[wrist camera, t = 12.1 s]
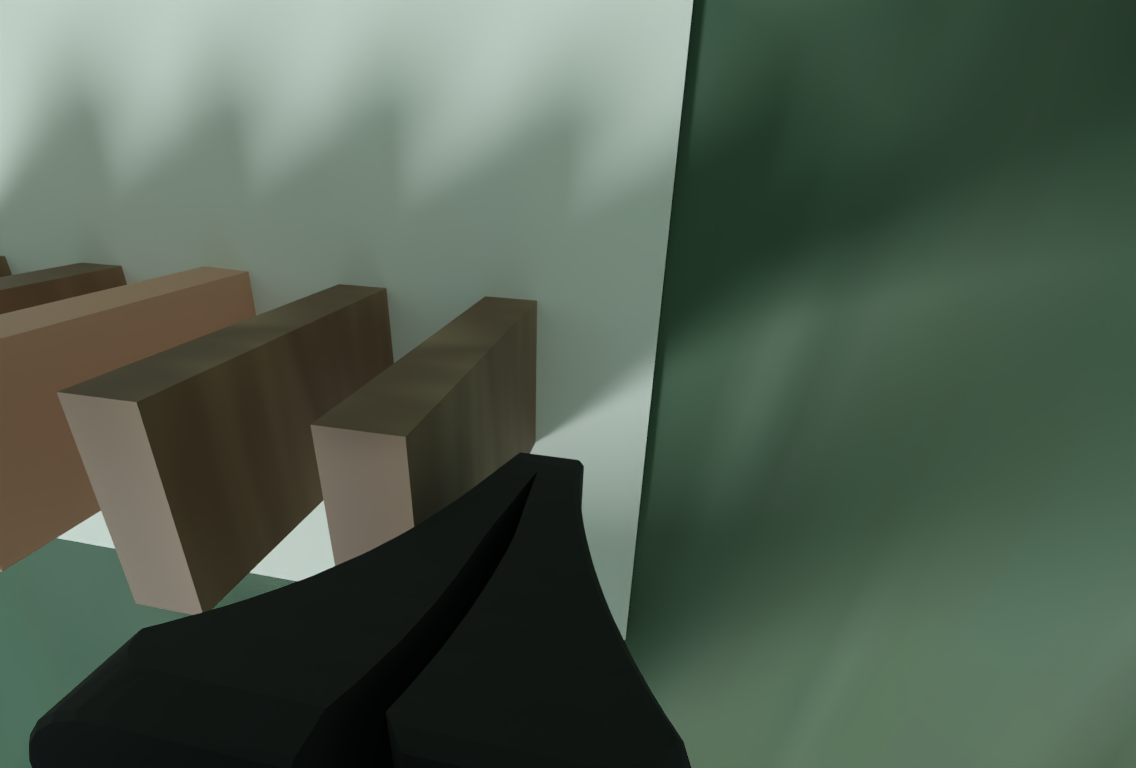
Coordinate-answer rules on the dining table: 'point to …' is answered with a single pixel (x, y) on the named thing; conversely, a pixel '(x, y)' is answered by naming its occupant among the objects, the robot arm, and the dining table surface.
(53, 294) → the domino
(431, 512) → the domino
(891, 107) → the dining table surface
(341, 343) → the domino
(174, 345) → the domino
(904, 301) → the dining table surface
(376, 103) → the white flat board
